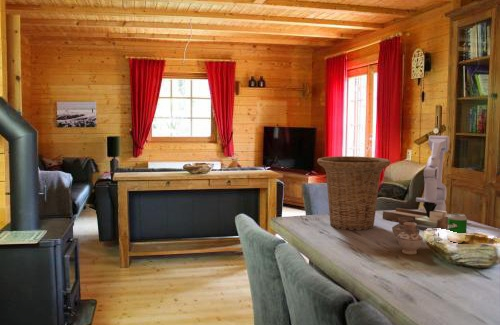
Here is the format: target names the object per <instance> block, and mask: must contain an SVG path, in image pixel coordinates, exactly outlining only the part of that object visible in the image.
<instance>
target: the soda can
mask: <svg viewBox="0 0 500 325" xmlns="http://www.w3.org/2000/svg"><path fill="white" fill-rule="evenodd" d="M447 217H448V227H447V230H450V231H453V232H457V233H466V234H467V229H468V228H467V224H468V218H467V216H466V215H465V214H463V213H456V212H455V213H450V214H449V215H447Z"/></svg>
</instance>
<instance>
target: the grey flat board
mask: <svg viewBox="0 0 500 325" xmlns="http://www.w3.org/2000/svg"><path fill="white" fill-rule="evenodd" d="M413 223H416V224H417V222H413ZM416 227H417V228H418V229H419V230H420V231H421V230H422V231H425V230H424V229H427V228H437V226H434V227H431V226H426V225H420V224H417V226H416Z"/></svg>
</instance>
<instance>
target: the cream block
mask: <svg viewBox="0 0 500 325" xmlns="http://www.w3.org/2000/svg"><path fill="white" fill-rule="evenodd" d="M445 217H448V211H447V210H446V211H439V210H434V211H430V221H436V222H437V220H439V219H442V218H445Z"/></svg>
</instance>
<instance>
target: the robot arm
mask: <svg viewBox="0 0 500 325" xmlns="http://www.w3.org/2000/svg"><path fill="white" fill-rule="evenodd" d="M428 147H429V150H430V151H431V153H430V154H431V155H430V156H429V157H428V158H427V162H426V167H424V169H423V177H424V178H423V182H424V190H423V192H424V193H423V194H424V196H423V197H416V198H415V202H419V203H423V204H422V205H423V206H422V207H424V210H425V212H426V213H427V217H428V218H430V211H434V210H439V211H446V212H447V210H446V209H447V204H446V200H447V186H446V185H445V184H444V183H443V181H442V180H443V168H444V159H445V158H444V157H445V154H446V153H448V152H449V149H450V136H449V135H432V134H431V135H430V136H428Z"/></svg>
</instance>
